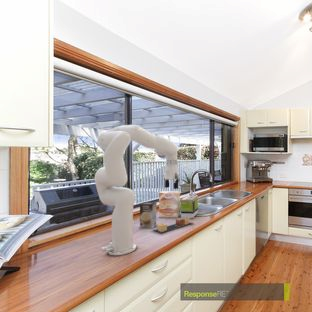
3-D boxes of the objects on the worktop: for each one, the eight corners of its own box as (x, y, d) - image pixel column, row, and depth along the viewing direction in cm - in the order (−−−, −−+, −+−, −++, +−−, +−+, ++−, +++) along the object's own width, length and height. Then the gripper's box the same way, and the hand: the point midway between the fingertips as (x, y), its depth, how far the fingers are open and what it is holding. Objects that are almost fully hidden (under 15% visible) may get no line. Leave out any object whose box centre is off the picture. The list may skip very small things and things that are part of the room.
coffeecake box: (158, 217, 170) (158, 192, 170) (162, 215, 177) (162, 191, 177) (177, 217, 170) (177, 192, 170) (180, 215, 177) (180, 191, 177)
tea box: (186, 213, 183) (186, 195, 183) (198, 213, 182) (198, 195, 182) (180, 218, 168) (180, 199, 168) (193, 218, 167) (193, 199, 167)
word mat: (161, 234, 132) (161, 227, 132) (152, 231, 138) (152, 224, 138) (194, 224, 153) (194, 218, 153) (184, 221, 159) (184, 215, 159)
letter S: (179, 226, 147) (179, 220, 147) (175, 225, 149) (175, 219, 149) (184, 225, 150) (184, 219, 150) (180, 223, 152) (180, 218, 152)
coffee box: (139, 228, 144) (139, 204, 144) (144, 225, 151) (144, 202, 151) (152, 228, 143) (152, 204, 143) (156, 225, 150) (156, 202, 150)
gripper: (159, 162, 150) (159, 187, 150) (174, 163, 139) (174, 189, 139) (168, 162, 156) (168, 186, 156) (184, 162, 145) (184, 188, 145)
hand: (171, 187), depth 148 cm, fingers open, 9 cm apart
